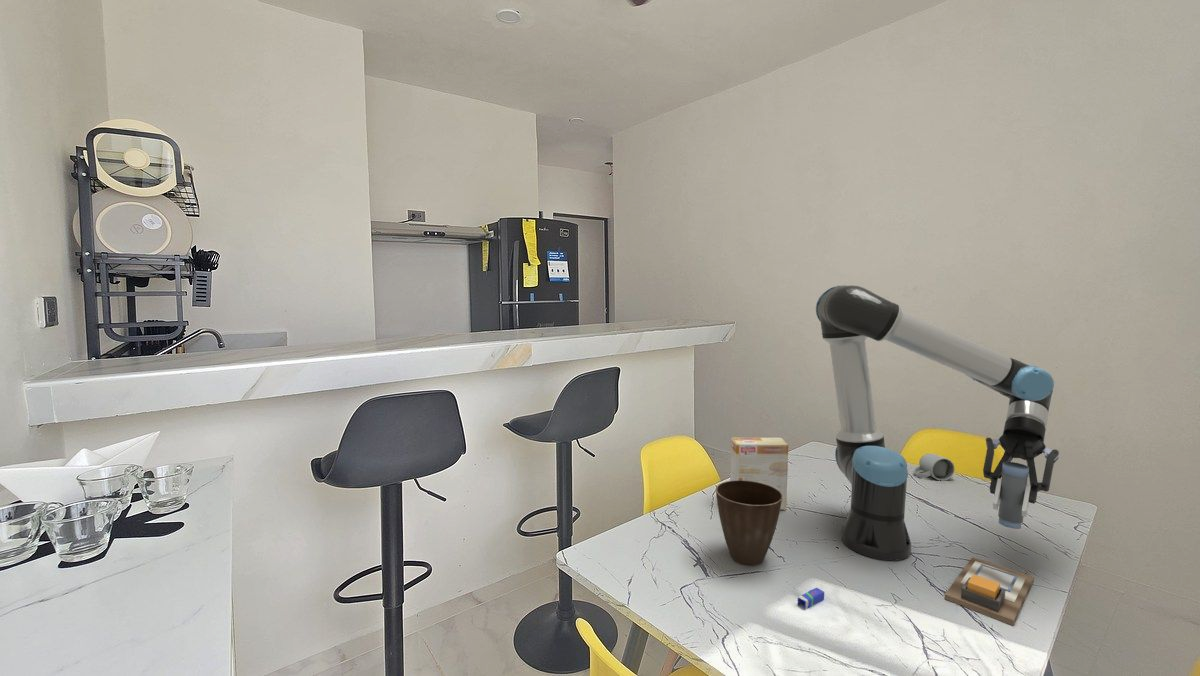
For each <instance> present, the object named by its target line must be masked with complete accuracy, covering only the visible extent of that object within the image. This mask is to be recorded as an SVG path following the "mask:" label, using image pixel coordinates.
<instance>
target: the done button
mask: <svg viewBox="0 0 1200 676" xmlns="http://www.w3.org/2000/svg"><path fill="white" fill-rule="evenodd" d="M967 589H968V590H970V591H973V592H976V593H978V594H981V595H984V596H987V597H989V598H992V599H995V600H996V598H997V596H998V594H999V590H1000V583H998V582H995V581H992V580H989V579H986V578H983V577H981V576H978V575H975V574H973V575H972V577H971V578H970V580H969V581H968V587H967Z"/></svg>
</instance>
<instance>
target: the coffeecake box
mask: <svg viewBox="0 0 1200 676" xmlns="http://www.w3.org/2000/svg"><path fill="white" fill-rule="evenodd" d="M730 440H731V441H730V472H729V473H730V475H729V477H730V478H729V479H730V480H729V481H736V480H742V481H753V482H758V483H763V484H766V485H769V486H771V487H773V488H775V489H777V490H778V491H779V492H780V493H781V494H782V502H781V507H780V511H782V510H783V511H786V510H787V504H788V503H787V500H788V499H787V498H788V497H787V496H788V495H787V494H788V493H787V492H788V472H789V471H788V469H789V466H788V465H789V464H788V463H789V443H787V442H786V441H785V440H784V439H783V438H782V437H735V436H734V437H731V439H730Z"/></svg>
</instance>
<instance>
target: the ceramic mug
mask: <svg viewBox="0 0 1200 676" xmlns="http://www.w3.org/2000/svg"><path fill="white" fill-rule="evenodd" d="M912 471H913V474H914V476H915V477H917V478H928V477H932V478H933V479H935V480H937V481H940V480H941V482H945V481H949V480H950V479H952V478H953V476H954V474H955V464H954V463H953V461H952V460H951V459H949V458H947V457H945V456H941V455H938V454H935V453H925V454H924V455H922V456H921V457H920V459H919V466H917V467H915V468H914V469H913V470H912ZM920 471H923V472H920ZM918 472H920V473H918Z"/></svg>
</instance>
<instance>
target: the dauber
mask: <svg viewBox="0 0 1200 676" xmlns="http://www.w3.org/2000/svg"><path fill="white" fill-rule="evenodd" d="M1028 477H1029V467H1028V466H1027V464H1022V463H1019V462H1013V461H1011V462H1003V465H1002V477H1001V479H1002V482H1001V493H1000V500H999V505H998V510H997V511H998V512H997V516H998V524H999V525H1001V526H1003V527H1005V528H1009V529H1014V530H1020V529H1021V528H1022V525H1023V522H1024V517H1023V516H1022V506H1023V501H1024V495H1025V489H1026V485H1028V479H1029V478H1028Z"/></svg>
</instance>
